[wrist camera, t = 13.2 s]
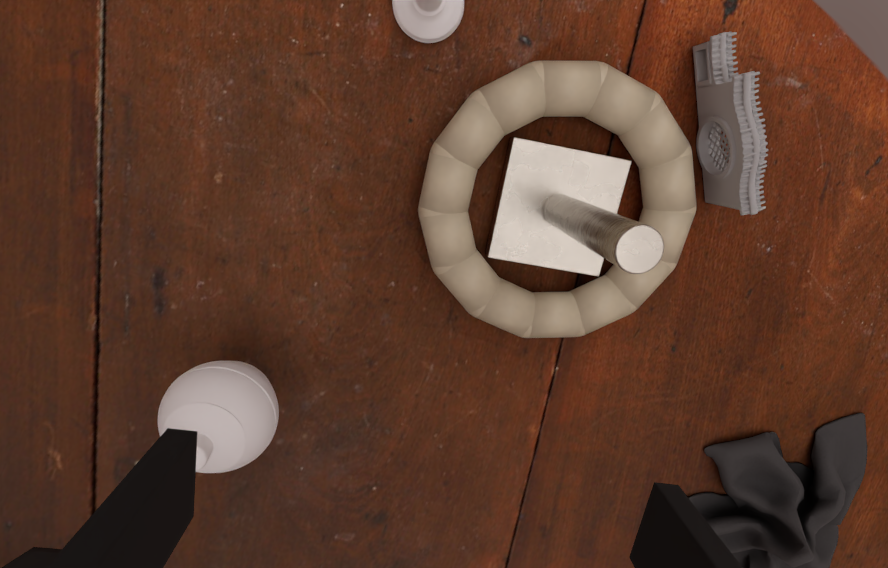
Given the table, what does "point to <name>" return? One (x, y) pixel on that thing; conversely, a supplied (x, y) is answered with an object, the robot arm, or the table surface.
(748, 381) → the table surface
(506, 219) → the stand
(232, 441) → the spinning top
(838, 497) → the cloth
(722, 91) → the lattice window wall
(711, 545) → the robot arm
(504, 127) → the ring
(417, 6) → the chess piece
